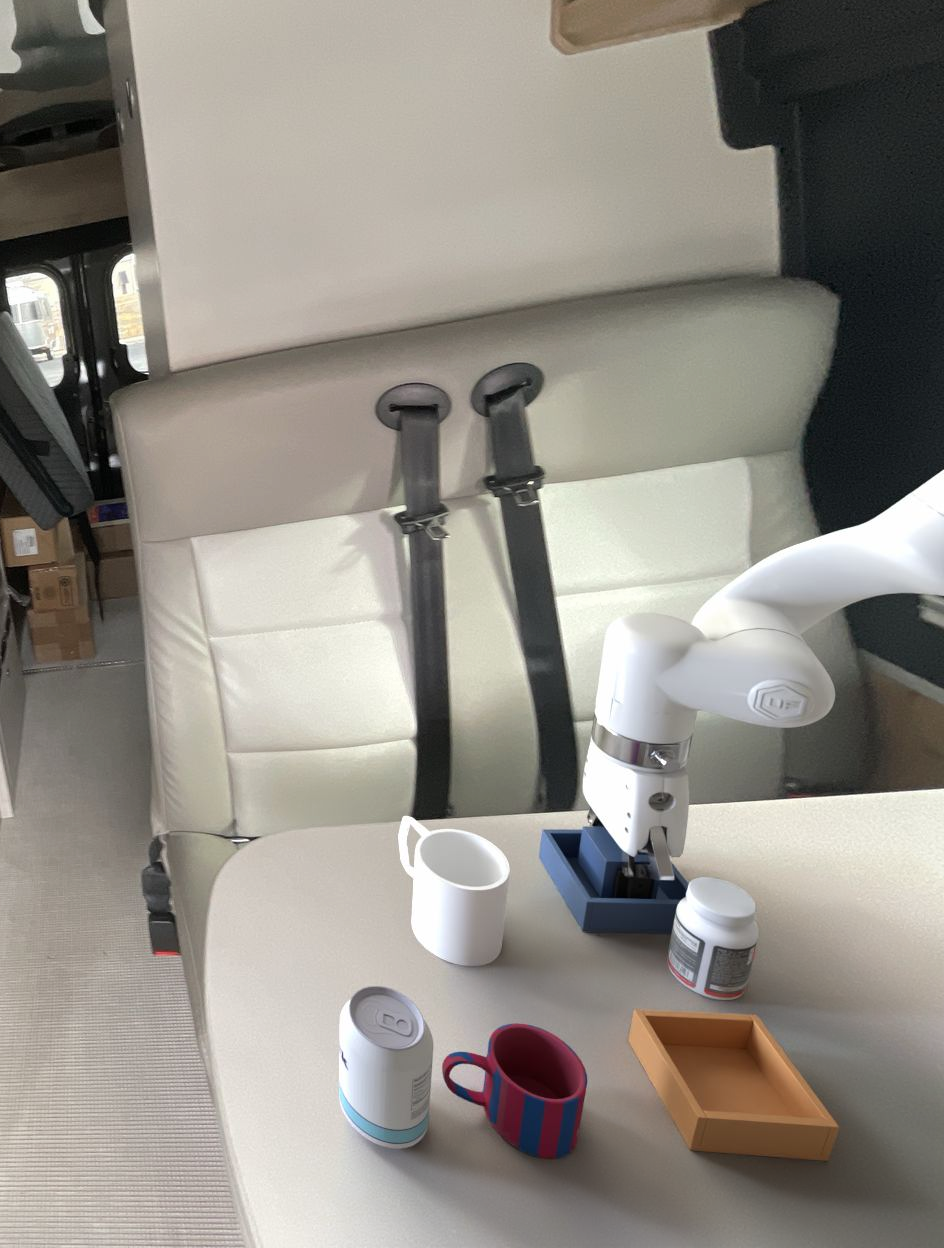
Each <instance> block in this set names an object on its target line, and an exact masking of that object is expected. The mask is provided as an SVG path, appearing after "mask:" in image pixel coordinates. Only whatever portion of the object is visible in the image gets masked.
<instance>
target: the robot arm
mask: <svg viewBox="0 0 944 1248" xmlns="http://www.w3.org/2000/svg"><path fill="white" fill-rule="evenodd" d="M891 594H919V595H930V596H931V595H932V596H941V597H944V469H943V470H941V471H940V472H939V473H937V474H935V475H934V476H932V477H931V478H930V479H928V480H927V481H926V482H924V483H922V484H921V485H920V486H919V487H917V488H915V489H914V490H913V491H911V492H910V493H908V494H907V495H905V496H904V497H903V498H901V499H900V500H899V501H897V502H896V503H894V504H893V505H891V506H890V507H888V508H887V509H886V510H884V511H883V512H881V513H880V514H878V515H876V516H875V517H873V518H871V519H869V520H868V521H866V522H864V523H861V524H858V525H854V526H851V527H847V528H843V529H839V530H835V531H832V532H830V533H827V534H823V535H820V536H817V537H815V538H812V539H809V540H806V541H803V542H800V543H797V544H794V545H791V546H789V547H787V548H784V549H781V550H779V551H776V552H775V553H773V554H771V555H769V556H766V558H763V559H761V561H759V562H757V563H755V564H754V565H752V566H751V567H750V568H749V569H747V570H745V571H744V572H743V573H742V574H740V575H738V577H736V578H735V579H733V580H732V581H731V582H729V583H728V584H727V585H725V586H724V587H723V588H722V589H720V590H719V591H717V592H716V593H715V594H714V595H713V596H711V598H709V599H708V600H707V601H706V602H705V603H703V605H702V606H701V607H700V608H699V610H698V611H697V612H696V614H695V615H694V617H693V619H692V621H691V623H690V622H689V621H687V620H684V619H682V618H679V617H675V616H672V615H669V614H664V613H663V614H661V613H655V612H634V613H628V614H625V615H622V616H619V617H617V618H616V619H614V620H613V621H612V622H611V623H610V624H609V625H608V627H607V629H606V631H605V636H604V642H603V648H602V655H601V663H600V670H599V678H598V684H597V691H596V699H595V705H594V706H595V707H594V712H593V720H592V725H591V726H592V728H591V734H590V743H589V747H588V750H587V755H586V759H585V764H584V769H583V776H582V794H583V796H584V798H585V800H586V802H587V804H588V806H589V809H588V810H589V811H588V813H587V814H586V821H587V824H588V826H605V828H606V829H607V831H608V832H609V833H610V835H611V836H612V837H613V839H614V840H615V842H616V843H617V844H618V845H619V847H620V848H621V849H622V868H620V869H617V872H616V878H615V884H614V890H613V898H624V899H651V898H652V893H653V887H654V882H655V880H661V881H674V873H673V868H672V864H671V862H672V860H671V858H680V857H682V855H683V853H684V849H685V844H686V838H687V831H688V821H689V810H690V809H689V807H690V784H689V775H688V771H687V769H686V767H685V766H686V765H687V763H688V762H689V756H690V750H691V746H692V741H693V737H694V736H693V734H694V728H695V725H696V720H697V715H698V711H702V712H706V713H708V714H714V715H718V716H721V717H725V718H729V719H732V720H736V721H740V722H744V723H748V724H752V725H756V726H757V725H758V726H763V727H767V728H768V727H769V728H780V729H781V728H783V729H788V728H791V729H792V728H799V727H805V726H808V725H811V724H814V723H816V722H819V721H820V720H821V719H823V718H824V717H826V716H827V715H828V713H830V711H831V710H832V708H833V706H834V703H835V700H836V690H835V684H834V683H833V681H832V678H831V676H830V675H829V672H828V671H827V670H826V669H825V668H826V667H824V665H823V664H822V663H821V662H820V660H819V659H818V657H817V656H816V655H815V653H814V652H813V650H812V649H811V647H810V646H809V645H808V643H807V642H806V641H805V639H804V638H803V636H802V634H803V633H805V632H806V631H808V630H809V629H810V628H812V627H814V626H815V625H816V624H818V623H819V622H822V620H824V619H826V618H828V617H829V616H831V615H832V614H834V613H836V612H837V611H839V610H841V609H843V608H845V607H848V606H849V605H851V604H854V603H857V602H861V601H862V600H866V599H870V598H874V597H877V596H884V595H891ZM636 855H647V865H634V857H635V856H636Z"/></svg>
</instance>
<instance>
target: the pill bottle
mask: <svg viewBox="0 0 944 1248" xmlns="http://www.w3.org/2000/svg"><path fill="white" fill-rule="evenodd" d="M688 884H689V885H688V889H687V892H686V897H684V898H683V899H682V900H681V901H680V902H679V903H678V906H677V909H676V914H675V919H674V924H673V929H672V934H670V941H669V944H668V945H669V946H668V949H667V956H666V961H667V962H666V963H667V966H668V969H669V971H670V972H671V974H672V975H673V977H674V978H675V979H676V980H677V981H678V982H679V983H681V984H682V985H683V986H685V987H686V988H688V989H689V990H690V991H692V992H693V993H696V994H698V995H701V996H703V997H706V998H709V999H713V1000H718V1001H731V1000H736V999H738V998H740V997H741V996H743V995H744V994H745V991H746V990H747V987H748V982H749V978H750V974H751V970H752V966H753V963H754V962H753V961H754V957H755V955H756V954H755V953H756V949H757V944H758V941H759V928H758V926H757V924H756V922H755V919H756V915H757V914H756V913H757V904H756V902H755V900H754V898H753V897H752V896H751V894H749V893H748V892H747V891H746V890H745V889H744V888H742V887H740V886H739V885H737V884H734V883H732V882H730V881H728V880H724V879H722V878H717V877H711V876H699V877H695V878H693V879H691V881H689V882H688Z"/></svg>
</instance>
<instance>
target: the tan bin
mask: <svg viewBox="0 0 944 1248" xmlns="http://www.w3.org/2000/svg"><path fill="white" fill-rule="evenodd" d="M629 1029H630V1030H629V1035H628V1039H627V1040H628V1043H629V1045H630V1047H631V1048H632V1050H633V1052H634V1054H635V1055H636V1057H637V1060H638V1061H639V1062H640V1064H641V1066H642V1068H643V1070H644V1071H645V1073H646V1075H647V1076H648V1079H649V1080H650V1082H651V1084H652V1086H653V1088H654V1089H655V1091H656V1093H657V1094H658V1096H659V1098H660V1100H661V1101H662V1103H663V1105H664V1106H665V1109H666V1111H667V1112H668V1114H669V1116H670V1118H671V1119H672V1121H673V1123H674V1124H675V1126H676V1127H677V1129H678V1131H679V1133H680V1135H681V1137H682V1139H683V1140H684V1142H685V1144H686V1145H687V1147H688V1149H689V1151H694V1152H708V1153H720V1154H732V1155H733V1154H735V1155H745V1156H746V1155H747V1156H759V1157H773V1158H783V1159H784V1158H786V1159H797V1160H809V1161H821V1162H822V1161H824V1162H828V1161H829V1159H830V1156H831V1153H832V1150H833V1148H834V1145H835V1142H836V1139H837V1136H838V1133H839V1131H840V1126H839V1124H838V1122H836V1119H834V1117H833V1116H832V1115H831V1114H830V1112H829V1111H828V1109H827V1108H826V1107H825V1105H824V1104H823V1103H822V1101H821V1099H819V1097H818V1096H817V1094H816V1093H815V1092H814V1090H813V1089H812V1088H811V1086H810V1085H809V1084H808V1082H807V1081H806V1080H805V1078H804V1076H802V1074H801V1073H800V1071H799V1070H798V1069H797V1067H796V1066H795V1065H794V1063H793V1062H792V1061H791V1059H790V1058H789V1057H788V1055H787V1053H786V1052H785V1051H784V1049H783V1048H782V1047H781V1045H780V1044H779V1043H778V1041H777V1040H776V1039H775V1037H774V1036H773V1035H772V1033H771V1032H770V1030H769V1029H768V1028H767V1026H766V1025H765V1023H764V1022H763V1021H762V1020H761V1019H760V1017H759V1015H757V1014H746V1013H745V1014H743V1013H742V1014H741V1013H724V1012H723V1013H721V1012H703V1011H702V1012H700V1011H699V1012H698V1011H677V1010H656V1009H655V1010H654V1009H637V1008H635V1009H633V1013H632V1019H631V1023H630V1028H629Z"/></svg>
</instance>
